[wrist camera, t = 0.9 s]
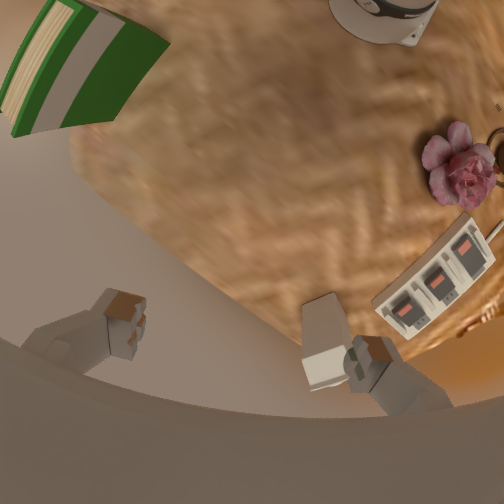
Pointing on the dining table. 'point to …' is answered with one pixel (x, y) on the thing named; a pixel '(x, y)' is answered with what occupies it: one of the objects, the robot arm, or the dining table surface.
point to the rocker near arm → (469, 255)
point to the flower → (459, 168)
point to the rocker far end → (408, 311)
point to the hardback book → (76, 67)
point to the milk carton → (325, 341)
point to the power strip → (428, 265)
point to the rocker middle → (439, 284)
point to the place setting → (499, 153)
